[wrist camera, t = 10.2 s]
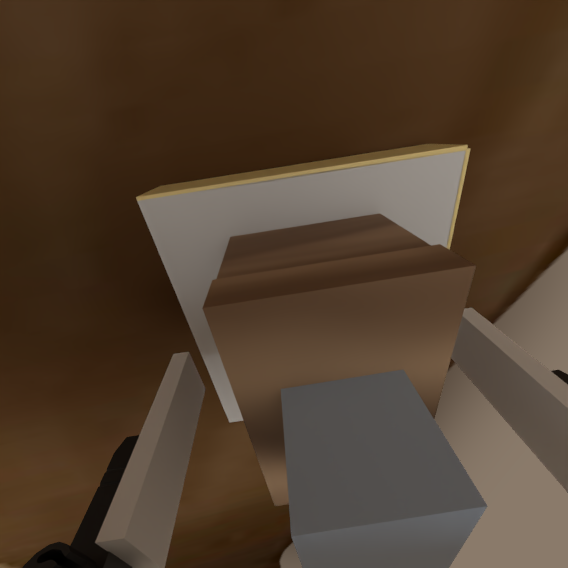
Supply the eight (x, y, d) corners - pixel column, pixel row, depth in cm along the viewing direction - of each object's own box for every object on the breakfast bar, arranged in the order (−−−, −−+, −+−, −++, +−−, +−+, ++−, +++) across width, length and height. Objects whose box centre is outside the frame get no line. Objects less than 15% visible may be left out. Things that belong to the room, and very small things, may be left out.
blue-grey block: (280, 388, 8) (291, 537, 5) (403, 369, 8) (487, 506, 5) (298, 465, 11) (312, 595, 8) (392, 451, 11) (444, 575, 8)
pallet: (229, 232, 12) (202, 308, 6) (380, 209, 12) (476, 265, 6) (271, 397, 18) (275, 505, 12) (370, 382, 18) (416, 484, 12)
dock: (160, 185, 13) (135, 197, 11) (429, 143, 13) (471, 144, 11) (233, 387, 21) (229, 422, 19) (400, 362, 21) (419, 393, 19)
